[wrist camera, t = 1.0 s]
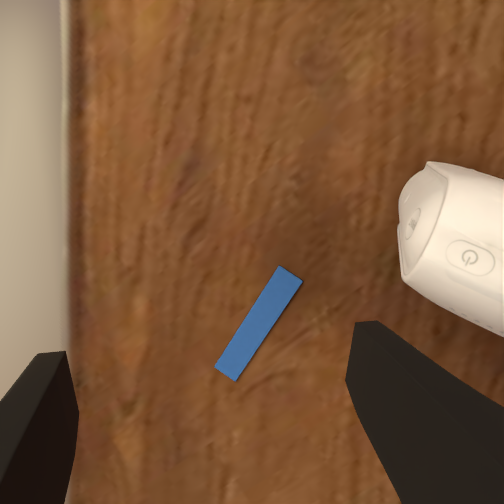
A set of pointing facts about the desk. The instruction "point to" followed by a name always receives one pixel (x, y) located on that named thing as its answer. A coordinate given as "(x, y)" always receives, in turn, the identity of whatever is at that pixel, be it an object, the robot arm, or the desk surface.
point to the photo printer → (455, 241)
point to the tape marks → (258, 322)
